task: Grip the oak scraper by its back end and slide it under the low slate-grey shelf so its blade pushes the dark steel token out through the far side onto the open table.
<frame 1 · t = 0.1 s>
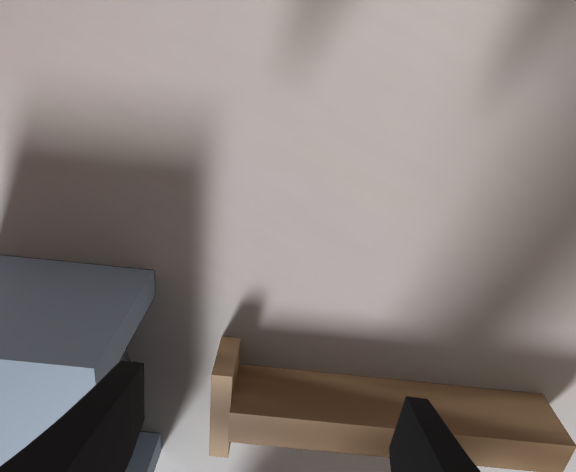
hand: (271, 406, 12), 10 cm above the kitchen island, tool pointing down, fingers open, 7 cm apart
low shelf: (86, 363, 25), on the kitchen island
oak scraper: (387, 391, 25), on the kitchen island
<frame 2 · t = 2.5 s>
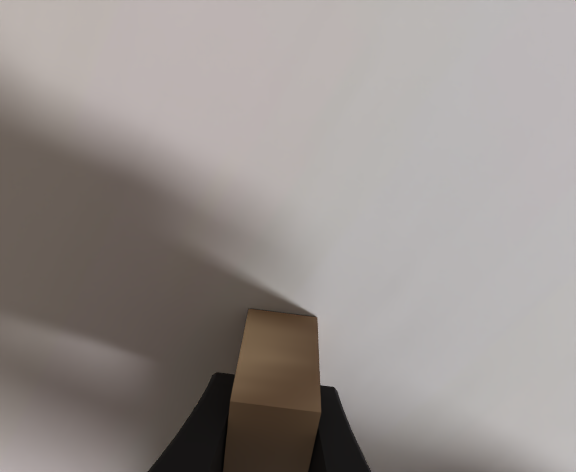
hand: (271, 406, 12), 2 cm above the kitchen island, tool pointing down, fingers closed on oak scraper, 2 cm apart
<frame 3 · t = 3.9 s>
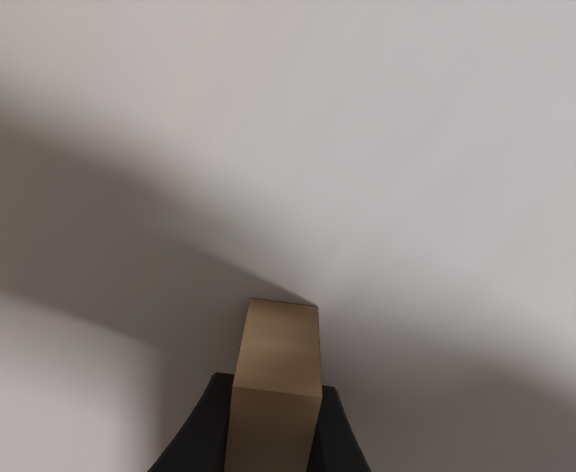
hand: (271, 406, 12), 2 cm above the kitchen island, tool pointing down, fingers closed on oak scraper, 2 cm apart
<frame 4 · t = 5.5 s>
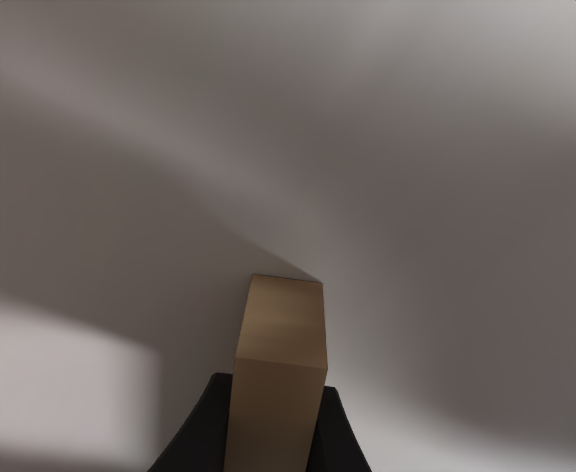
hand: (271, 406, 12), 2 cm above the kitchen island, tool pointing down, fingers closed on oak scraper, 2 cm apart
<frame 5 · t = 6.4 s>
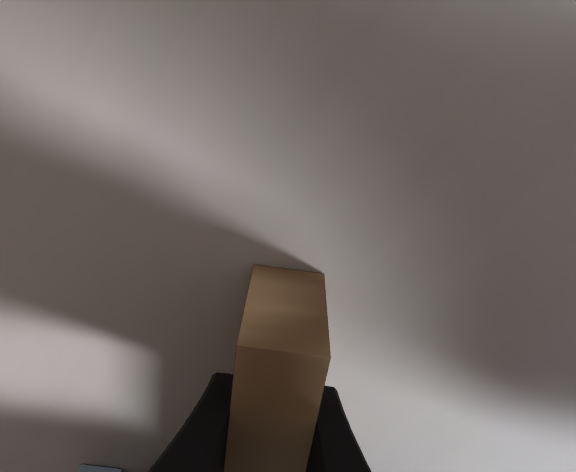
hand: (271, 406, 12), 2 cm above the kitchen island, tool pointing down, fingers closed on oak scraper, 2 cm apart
oak scraper: (258, 470, 16), on the kitchen island, touching gripper
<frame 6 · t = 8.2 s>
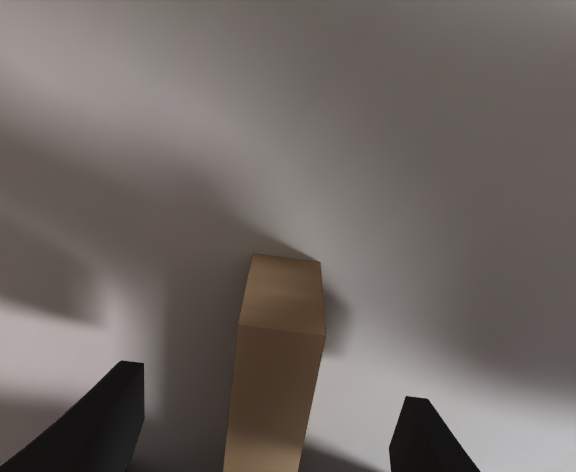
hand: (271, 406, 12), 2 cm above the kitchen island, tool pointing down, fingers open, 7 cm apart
oak scraper: (257, 453, 17), on the kitchen island
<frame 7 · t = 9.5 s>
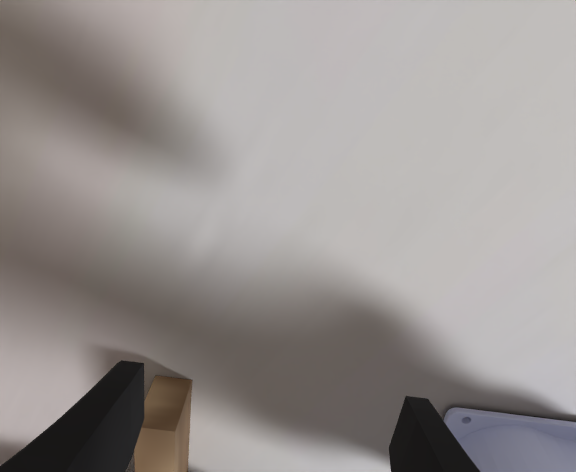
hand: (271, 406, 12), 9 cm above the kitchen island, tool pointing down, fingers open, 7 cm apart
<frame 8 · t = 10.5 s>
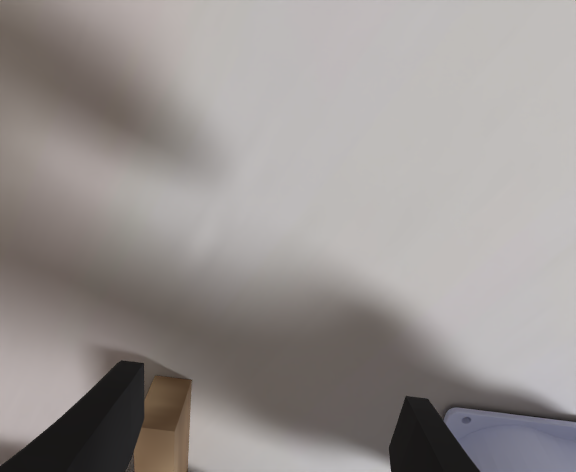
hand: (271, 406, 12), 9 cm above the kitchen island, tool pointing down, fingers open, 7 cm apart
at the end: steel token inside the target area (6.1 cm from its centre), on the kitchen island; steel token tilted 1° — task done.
